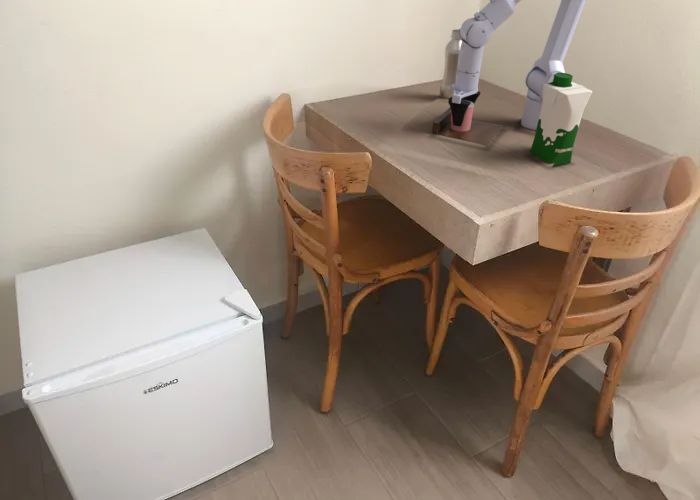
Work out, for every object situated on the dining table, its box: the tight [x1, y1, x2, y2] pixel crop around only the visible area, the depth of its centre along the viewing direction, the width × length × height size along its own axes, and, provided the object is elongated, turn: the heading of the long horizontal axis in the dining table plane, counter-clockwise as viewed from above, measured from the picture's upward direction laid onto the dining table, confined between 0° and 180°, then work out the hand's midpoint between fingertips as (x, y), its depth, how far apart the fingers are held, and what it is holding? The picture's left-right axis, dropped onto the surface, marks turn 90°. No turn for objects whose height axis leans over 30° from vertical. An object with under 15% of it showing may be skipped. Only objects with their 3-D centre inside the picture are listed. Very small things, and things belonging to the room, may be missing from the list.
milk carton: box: [529, 72, 593, 167], centre depth 126 cm, size 9×9×20 cm
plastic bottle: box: [439, 29, 461, 100], centre depth 160 cm, size 6×7×20 cm
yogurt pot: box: [450, 100, 475, 132], centre depth 142 cm, size 6×6×7 cm
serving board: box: [431, 107, 504, 147], centre depth 143 cm, size 15×15×4 cm
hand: (460, 121), depth 143 cm, fingers closed on yogurt pot, 5 cm apart
